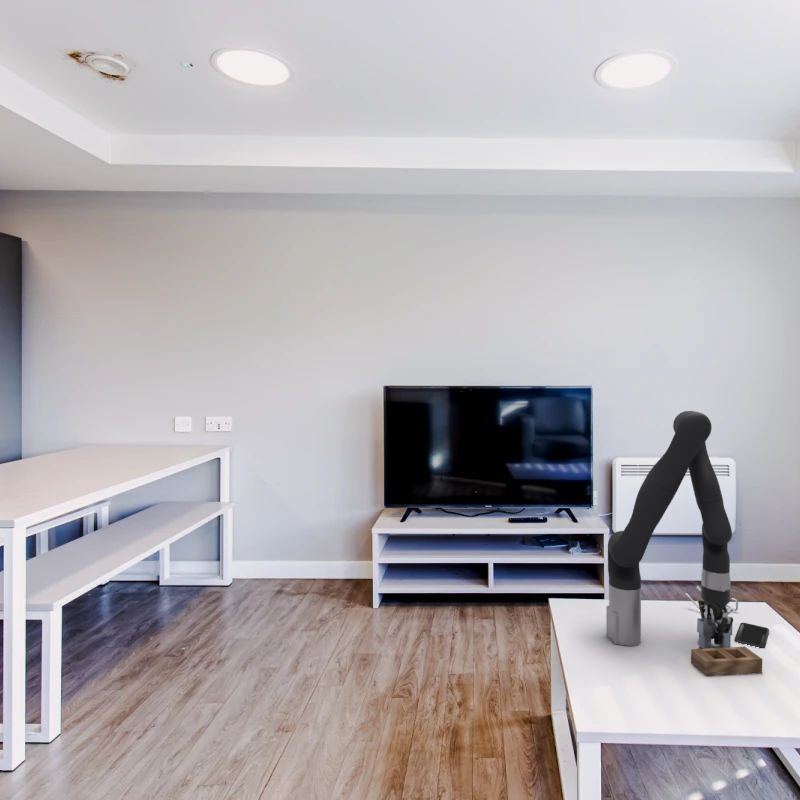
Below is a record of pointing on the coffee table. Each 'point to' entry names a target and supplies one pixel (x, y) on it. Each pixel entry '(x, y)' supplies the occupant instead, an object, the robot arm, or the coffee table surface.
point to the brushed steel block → (710, 633)
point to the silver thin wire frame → (726, 605)
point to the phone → (752, 635)
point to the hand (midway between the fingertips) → (714, 641)
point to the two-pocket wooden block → (726, 661)
